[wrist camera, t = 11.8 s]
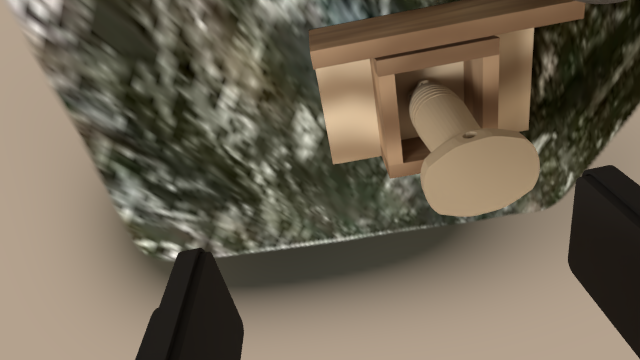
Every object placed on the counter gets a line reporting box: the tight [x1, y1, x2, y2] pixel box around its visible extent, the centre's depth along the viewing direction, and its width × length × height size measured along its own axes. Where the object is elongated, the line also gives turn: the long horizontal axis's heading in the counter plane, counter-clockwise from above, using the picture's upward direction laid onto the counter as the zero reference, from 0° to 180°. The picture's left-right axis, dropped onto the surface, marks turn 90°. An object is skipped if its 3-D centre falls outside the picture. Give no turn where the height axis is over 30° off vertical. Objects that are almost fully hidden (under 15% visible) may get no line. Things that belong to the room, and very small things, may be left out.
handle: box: [407, 79, 540, 216], centre depth 31 cm, size 5×6×15 cm
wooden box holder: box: [309, 0, 585, 178], centre depth 35 cm, size 12×18×8 cm, turn 100°
